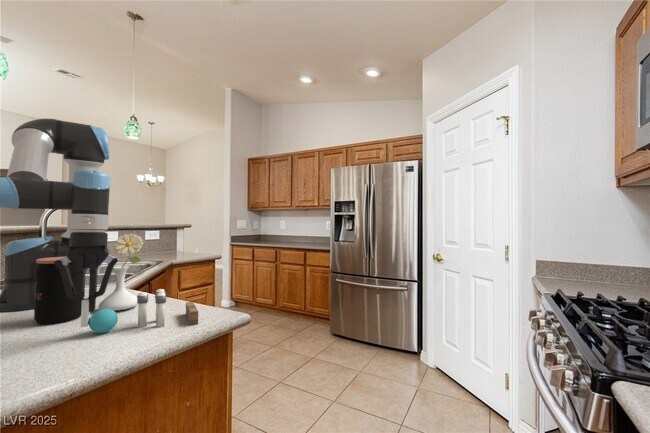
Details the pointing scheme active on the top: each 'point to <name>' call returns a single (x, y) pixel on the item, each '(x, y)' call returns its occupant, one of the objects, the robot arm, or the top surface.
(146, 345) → the top surface
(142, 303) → the front pin
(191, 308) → the back wall
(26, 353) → the top surface
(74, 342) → the top surface
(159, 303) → the right back pin
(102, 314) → the ball
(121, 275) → the flower in vase
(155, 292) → the left back pin
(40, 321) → the coffee jar
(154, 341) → the top surface
